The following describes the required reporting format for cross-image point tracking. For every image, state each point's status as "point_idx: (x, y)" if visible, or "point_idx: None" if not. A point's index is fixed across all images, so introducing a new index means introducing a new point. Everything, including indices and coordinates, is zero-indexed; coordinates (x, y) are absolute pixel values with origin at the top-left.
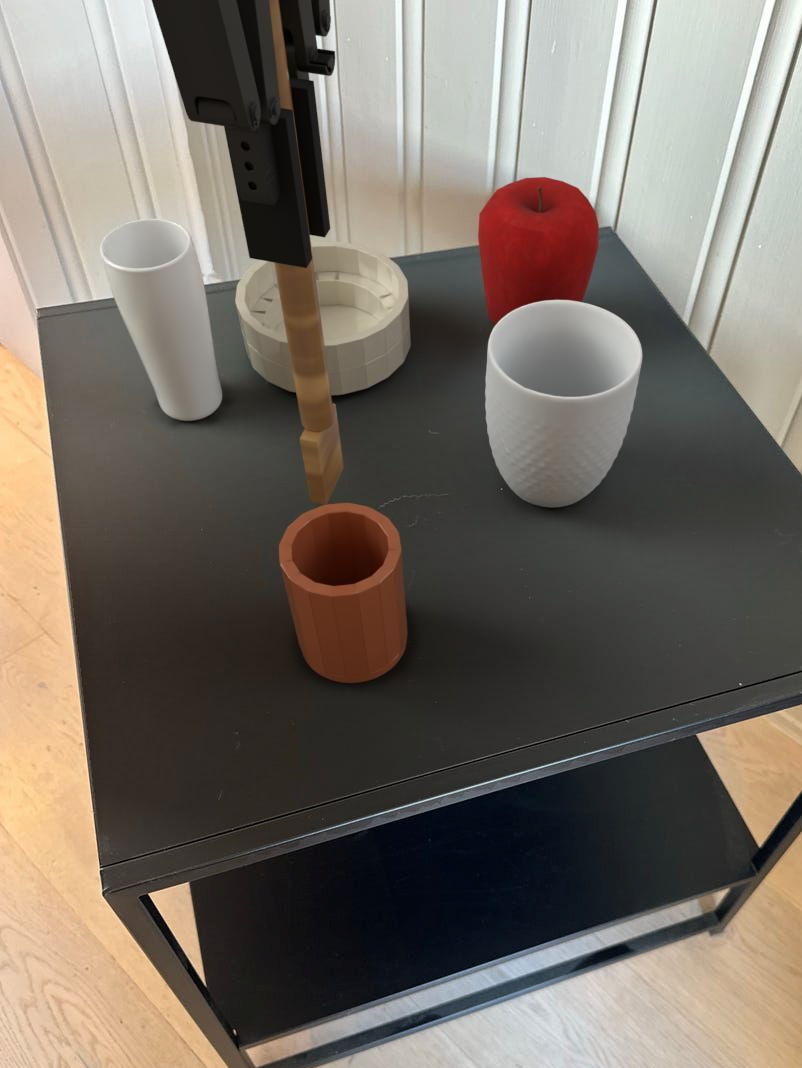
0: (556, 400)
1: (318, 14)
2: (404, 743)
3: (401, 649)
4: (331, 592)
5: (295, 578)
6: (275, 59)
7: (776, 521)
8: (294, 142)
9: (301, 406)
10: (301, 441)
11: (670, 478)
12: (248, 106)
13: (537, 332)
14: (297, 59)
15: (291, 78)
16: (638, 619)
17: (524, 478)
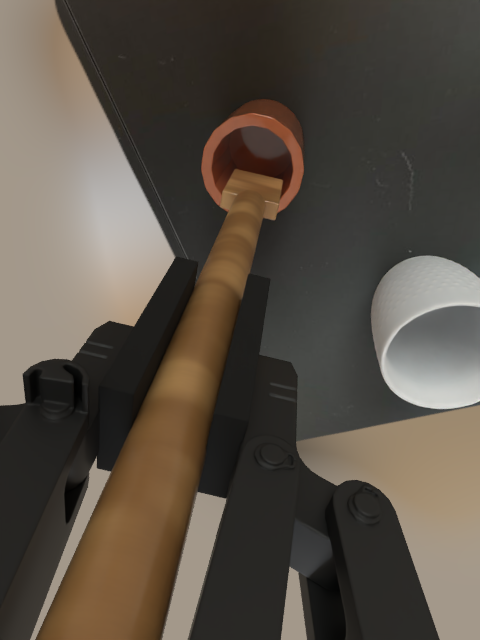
0: (383, 348)
1: (301, 585)
2: (180, 188)
3: None
4: (204, 167)
5: (215, 135)
6: (63, 550)
7: (359, 407)
8: None
9: (233, 203)
10: (222, 191)
11: None
12: None
13: None
14: (223, 512)
15: (227, 474)
16: (283, 328)
17: (381, 284)
